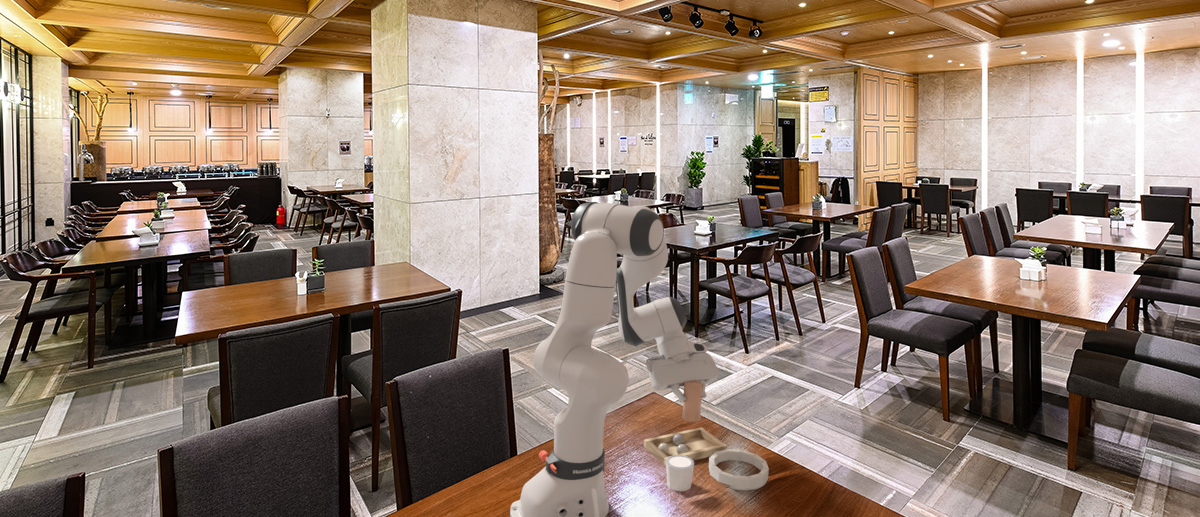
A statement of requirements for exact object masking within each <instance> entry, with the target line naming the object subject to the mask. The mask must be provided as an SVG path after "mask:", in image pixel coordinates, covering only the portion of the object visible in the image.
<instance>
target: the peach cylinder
mask: <svg viewBox="0 0 1200 517" xmlns="http://www.w3.org/2000/svg"><path fill="white" fill-rule="evenodd" d="M684 393H685V394H686V397H687V401H685V402H682V403H683V404H682V416H681V417H682V419H683V420H684V421H686V422H687V423H688V422H689V423H696V422H699V421H701V413H702V399H701V398H702V383H701V382H700V381H697V380H694V381H688V382H684V386H683V394H684Z"/></svg>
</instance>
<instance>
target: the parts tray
mask: <svg viewBox="0 0 1200 517" xmlns="http://www.w3.org/2000/svg"><path fill="white" fill-rule="evenodd" d="M677 434H680V435H682V437H683V439H684V442H683V444H684V445H685V446H686V447H687V449H688V452H686V453H682V454H678V453H677V451H676V449H677V446H678V445H675V444H674V443H673V437H674V436H675V435H677ZM661 443H665V444H667V445H668V446H669V452H668V453H667V454H664V453H663V452H662V451H661V450H660V449H659V448H658V446H659V445H660V444H661ZM643 448H645V449H646V450H647V451H648V452H649V453H650V454H651V455H652V456H653V457H654V458H655V459H657V461H659V462H660V463H661V464H662V465H663V466H664V467H666V459H667V458H668V457H670V456H673V455H683V456H687V457H689V458H691V459H692V460H693V461H694V462H695V461H698V460H702V459H705V458H710V457H711V456H712V455H713V454H714V453H715V452H718V451H722V450H726V449H728V446H727V444H725V443H724V442H723V441H721V440H720V439H718V438H717V437H716V436H714V435H713V434H712V433H710V432H709V431H707V430H706V429H705V428H703V427H697V428H692V429H686V430H683V431H677V432H673V433H668V434H663V435H658V436H655V437H651V438H650V437H649V438H645V439H643Z"/></svg>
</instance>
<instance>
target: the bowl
mask: <svg viewBox="0 0 1200 517" xmlns="http://www.w3.org/2000/svg"><path fill="white" fill-rule="evenodd" d="M726 461H740V462H744V463H747V464H750V465H753V466H754V467H756V468H757V470H759V472H758V473H755V474H752V475H735V474H732V473H730V472H726V471H724V470H722V469H721V468H719V467H718V466H717V465H718V464H720V463H723V462H726ZM708 470H709V475H710V476H711V477H712V478H713V479H715V480H716V481H717V482H718V483H721V484H723V485H727V486H726V488H727V489H731V490H733V491H734V490H735V491H743V492H745V491H746V492H747V491H753V490H757V489H761V488H763V487H764V486H765V485H766V484H767V481H768V479H769V470H770V468H769V466H768V463H767V461H766V460H765V459H764V458H762V457H761V456H760V455H758V454H757V453H753V452H750V451H747V450H744V449H734V448H733V449H730V448H729V449H728V448H727V449H726V450H722V451H718V452H715V453H714V454H713V455H712V456H711V457H708Z"/></svg>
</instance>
